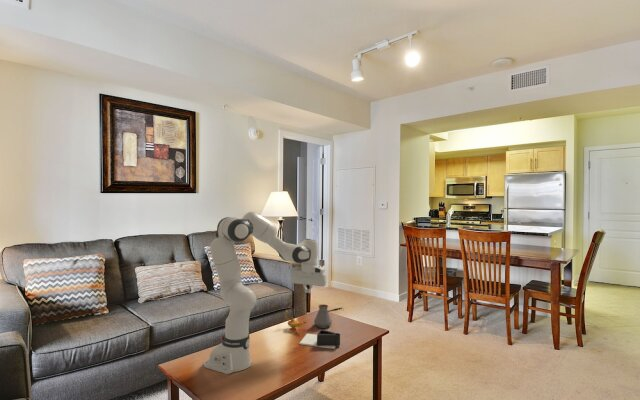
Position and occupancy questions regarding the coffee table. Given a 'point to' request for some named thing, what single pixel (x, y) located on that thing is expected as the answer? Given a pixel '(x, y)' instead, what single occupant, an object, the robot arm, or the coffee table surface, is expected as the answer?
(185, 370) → the coffee table surface
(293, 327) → the magic lamp
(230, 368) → the robot arm
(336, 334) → the phone stand
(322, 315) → the coffee pot
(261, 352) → the coffee table surface
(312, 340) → the mat
